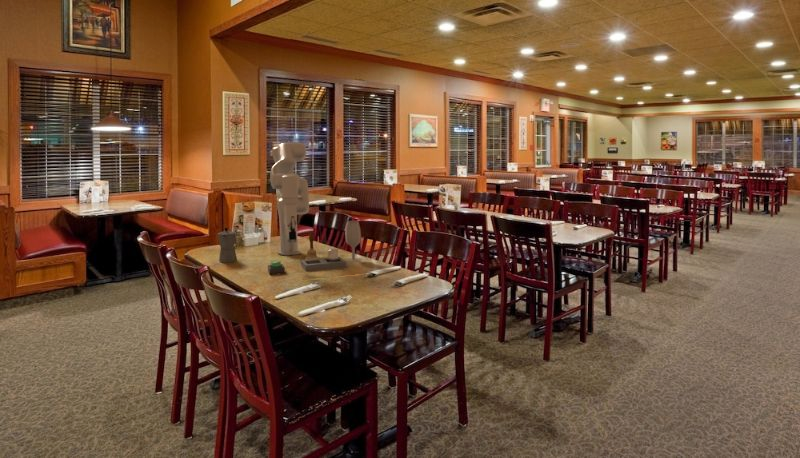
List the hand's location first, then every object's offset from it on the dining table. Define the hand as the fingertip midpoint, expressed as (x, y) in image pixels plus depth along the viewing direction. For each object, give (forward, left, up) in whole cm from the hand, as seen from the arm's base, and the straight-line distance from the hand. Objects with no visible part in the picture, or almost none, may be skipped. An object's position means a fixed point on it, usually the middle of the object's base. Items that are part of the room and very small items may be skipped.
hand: (291, 238), depth 243 cm
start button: (0, -8, -14) cm, 16 cm away
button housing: (0, -8, -16) cm, 18 cm away
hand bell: (-18, +13, -16) cm, 27 cm away
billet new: (0, 0, -2) cm, 2 cm away
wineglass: (-8, +33, -16) cm, 38 cm away
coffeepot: (-36, -28, -16) cm, 48 cm away
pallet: (0, +15, -16) cm, 22 cm away
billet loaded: (0, +20, -15) cm, 25 cm away
